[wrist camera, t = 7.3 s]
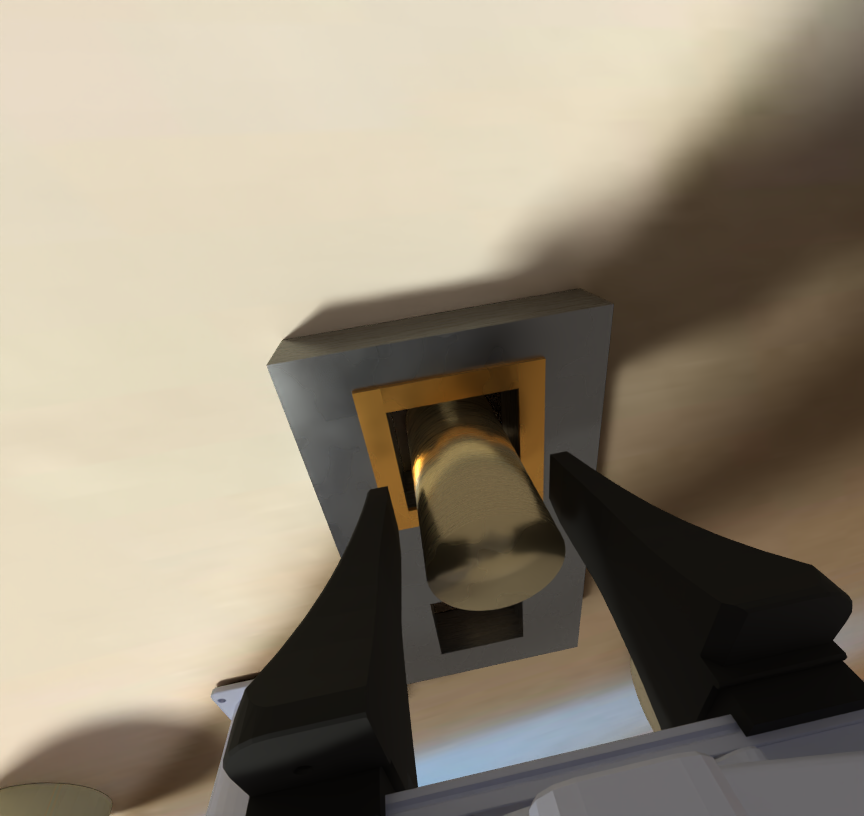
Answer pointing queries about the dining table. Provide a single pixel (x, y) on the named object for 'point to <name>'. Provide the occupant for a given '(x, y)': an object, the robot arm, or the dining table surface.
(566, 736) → the dining table surface
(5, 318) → the dining table surface
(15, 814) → the reusable coffee cup
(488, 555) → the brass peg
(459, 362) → the hole plate
